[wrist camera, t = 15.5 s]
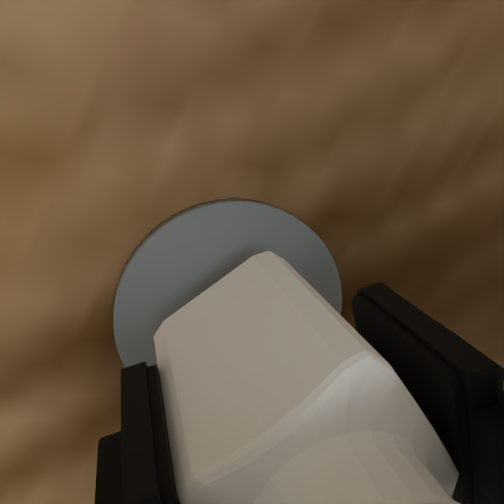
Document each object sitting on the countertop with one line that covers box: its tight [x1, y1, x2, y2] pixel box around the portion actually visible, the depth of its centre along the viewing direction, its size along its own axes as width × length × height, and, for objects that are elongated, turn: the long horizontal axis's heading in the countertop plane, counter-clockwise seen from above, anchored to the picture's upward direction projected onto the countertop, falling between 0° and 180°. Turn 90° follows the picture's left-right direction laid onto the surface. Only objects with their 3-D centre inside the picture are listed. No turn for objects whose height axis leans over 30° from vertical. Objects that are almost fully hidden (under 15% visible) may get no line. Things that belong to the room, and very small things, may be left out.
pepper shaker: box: [154, 251, 461, 504], centre depth 9 cm, size 4×4×10 cm
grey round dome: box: [113, 199, 342, 368], centre depth 15 cm, size 7×7×1 cm
